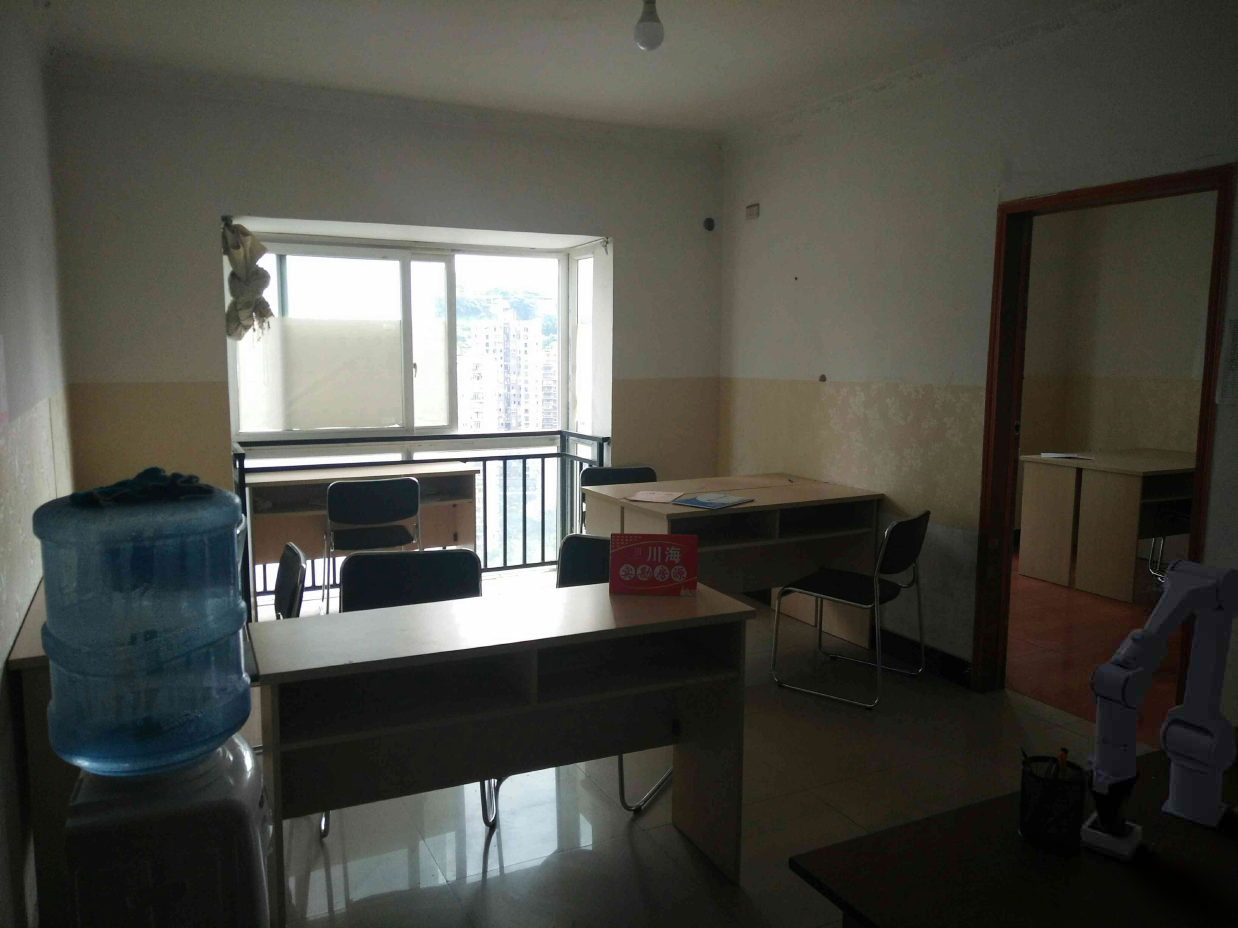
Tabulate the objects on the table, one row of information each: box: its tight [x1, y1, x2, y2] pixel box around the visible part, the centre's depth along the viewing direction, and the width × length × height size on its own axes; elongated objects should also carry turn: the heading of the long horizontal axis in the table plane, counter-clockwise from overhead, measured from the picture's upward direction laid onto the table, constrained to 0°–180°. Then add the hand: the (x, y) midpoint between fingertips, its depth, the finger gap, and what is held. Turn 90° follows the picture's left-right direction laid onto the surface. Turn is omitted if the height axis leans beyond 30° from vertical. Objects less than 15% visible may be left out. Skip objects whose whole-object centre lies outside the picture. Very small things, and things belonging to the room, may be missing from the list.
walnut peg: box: [1097, 785, 1128, 837], centre depth 139 cm, size 4×4×7 cm
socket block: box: [1080, 810, 1143, 863], centre depth 140 cm, size 7×7×3 cm
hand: (1111, 818), depth 140 cm, fingers closed on walnut peg, 4 cm apart
